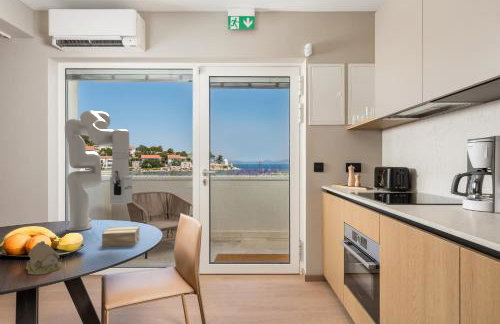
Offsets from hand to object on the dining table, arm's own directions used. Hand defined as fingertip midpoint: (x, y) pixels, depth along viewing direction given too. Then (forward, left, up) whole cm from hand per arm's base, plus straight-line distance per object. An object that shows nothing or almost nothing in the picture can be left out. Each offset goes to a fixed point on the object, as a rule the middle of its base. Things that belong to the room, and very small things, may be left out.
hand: (121, 193), depth 164 cm
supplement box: (0, 0, -5) cm, 5 cm away
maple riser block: (0, 0, -23) cm, 23 cm away
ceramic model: (+39, -13, -23) cm, 47 cm away
